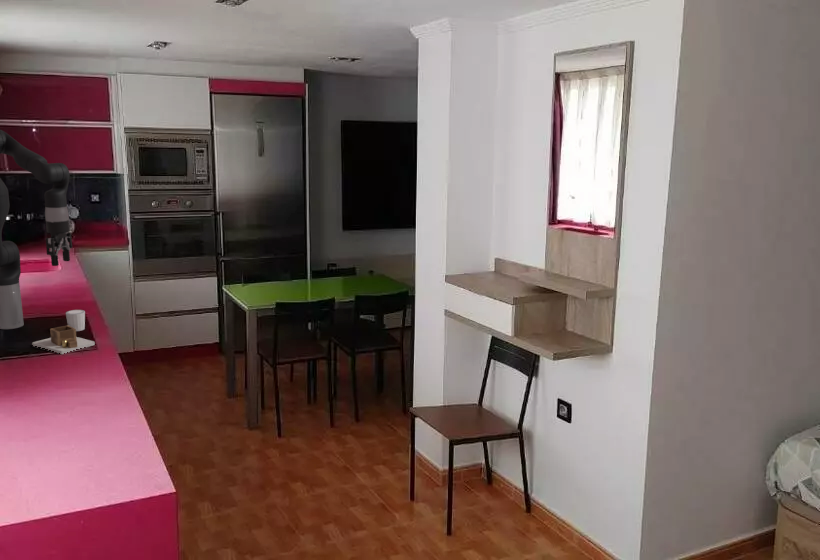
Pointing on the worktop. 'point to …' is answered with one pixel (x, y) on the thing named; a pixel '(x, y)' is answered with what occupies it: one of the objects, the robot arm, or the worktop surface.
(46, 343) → the board
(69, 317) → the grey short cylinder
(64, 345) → the dowel
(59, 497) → the worktop surface
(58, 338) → the open wooden box
